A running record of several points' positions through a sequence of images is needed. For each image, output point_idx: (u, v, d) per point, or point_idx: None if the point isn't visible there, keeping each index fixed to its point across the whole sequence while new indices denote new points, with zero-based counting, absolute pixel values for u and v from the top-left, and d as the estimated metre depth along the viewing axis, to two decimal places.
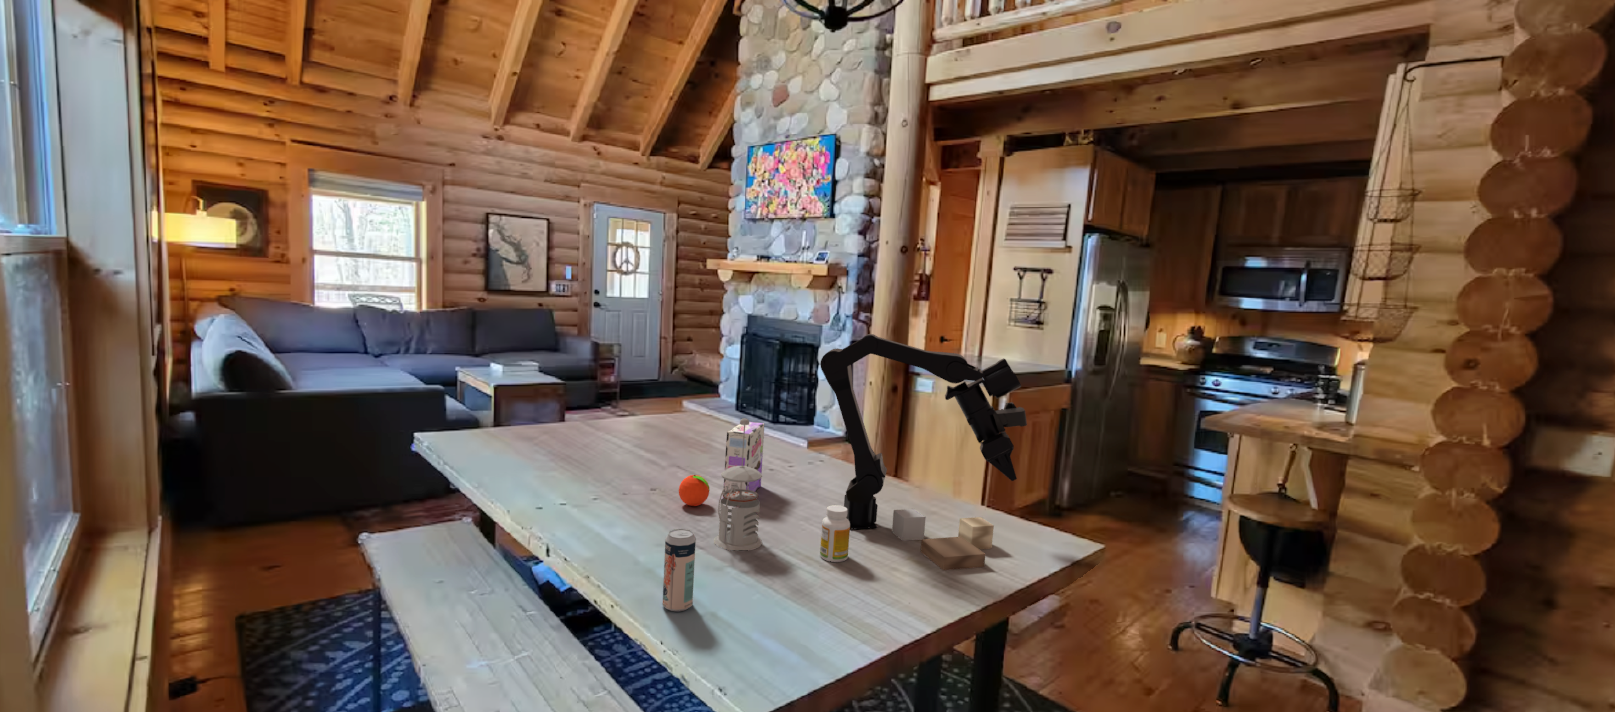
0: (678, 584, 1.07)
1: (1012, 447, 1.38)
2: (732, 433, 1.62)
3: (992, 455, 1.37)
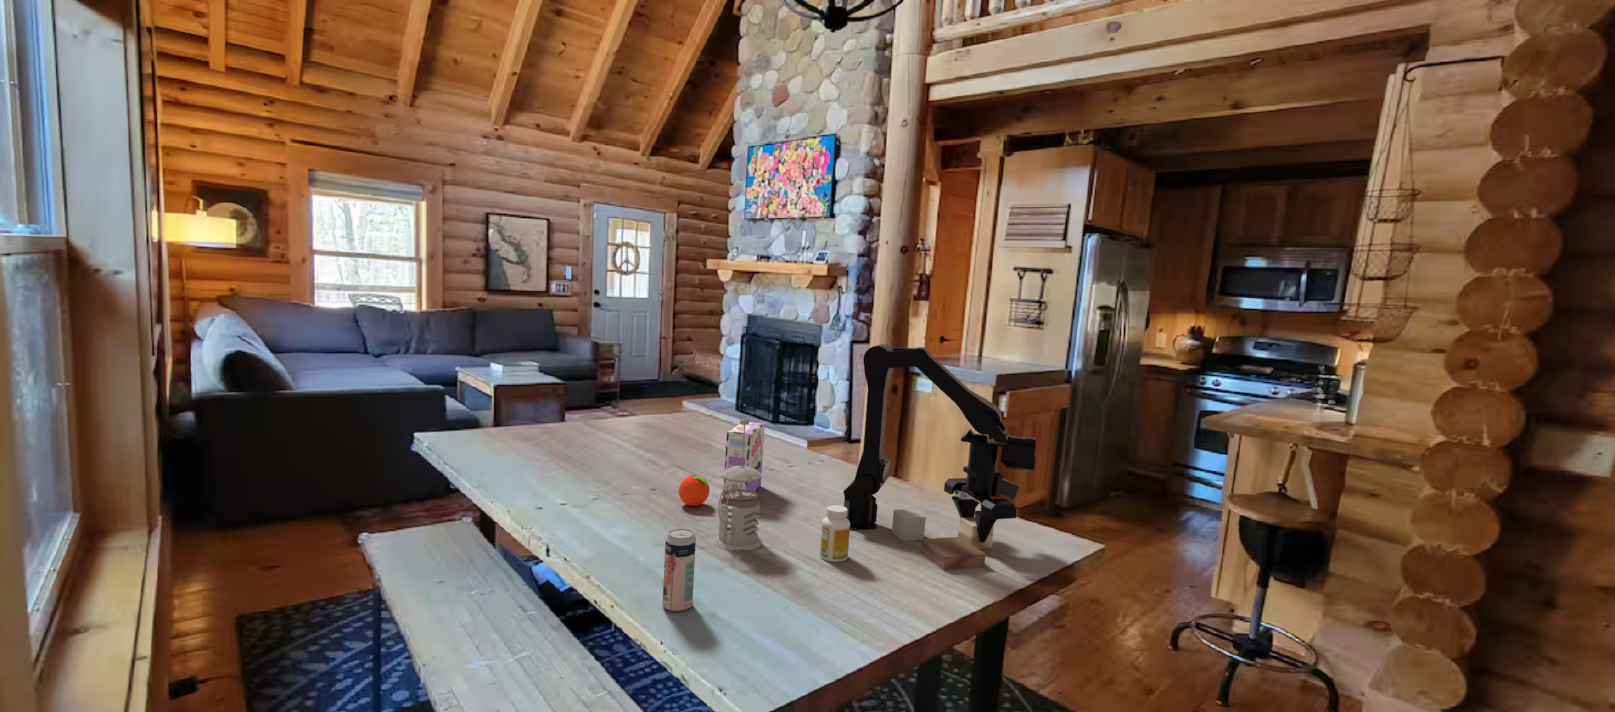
0: (678, 584, 1.07)
1: None
2: (732, 433, 1.62)
3: (998, 517, 1.35)
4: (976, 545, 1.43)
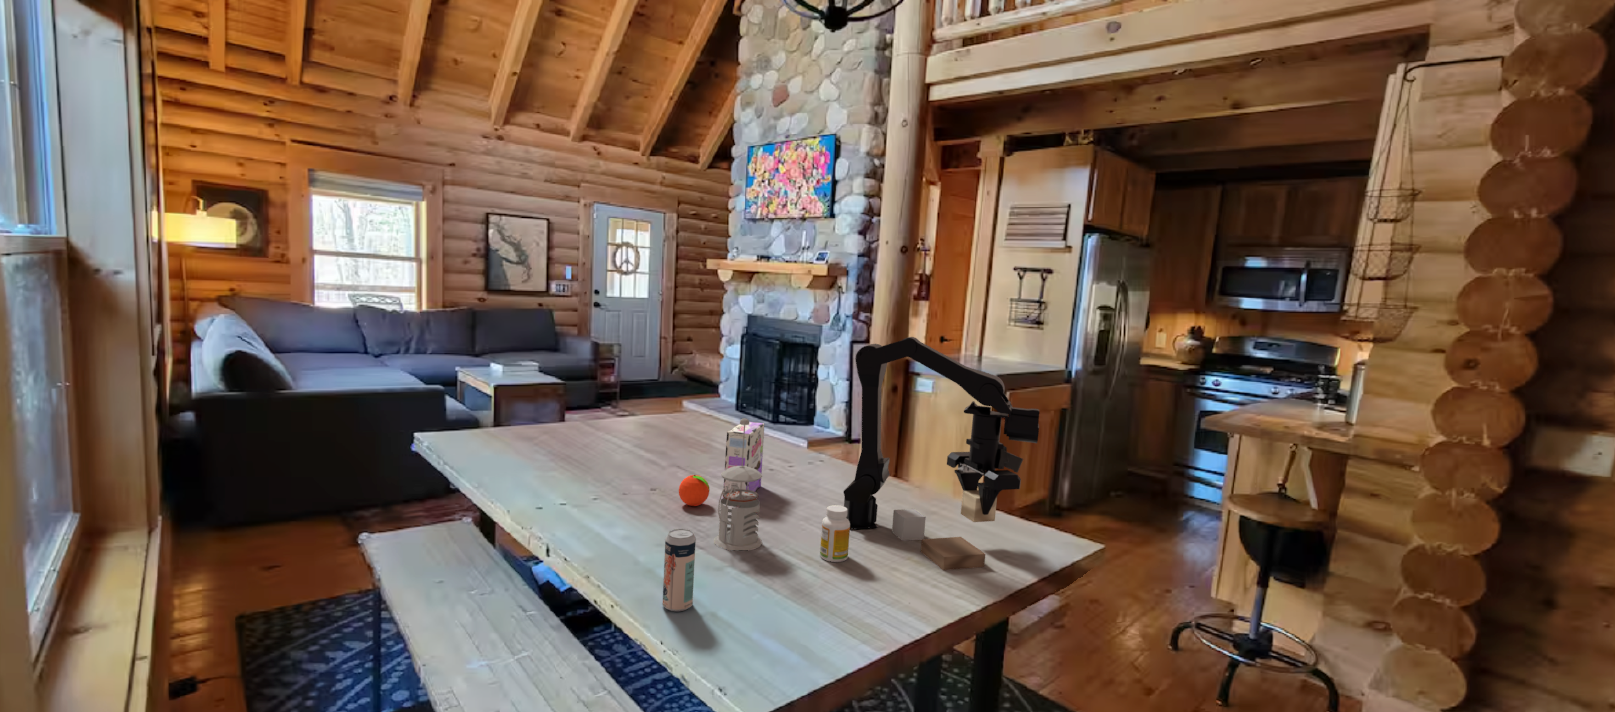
0: (678, 584, 1.07)
1: None
2: (732, 433, 1.62)
3: (1002, 488, 1.34)
4: (979, 517, 1.42)
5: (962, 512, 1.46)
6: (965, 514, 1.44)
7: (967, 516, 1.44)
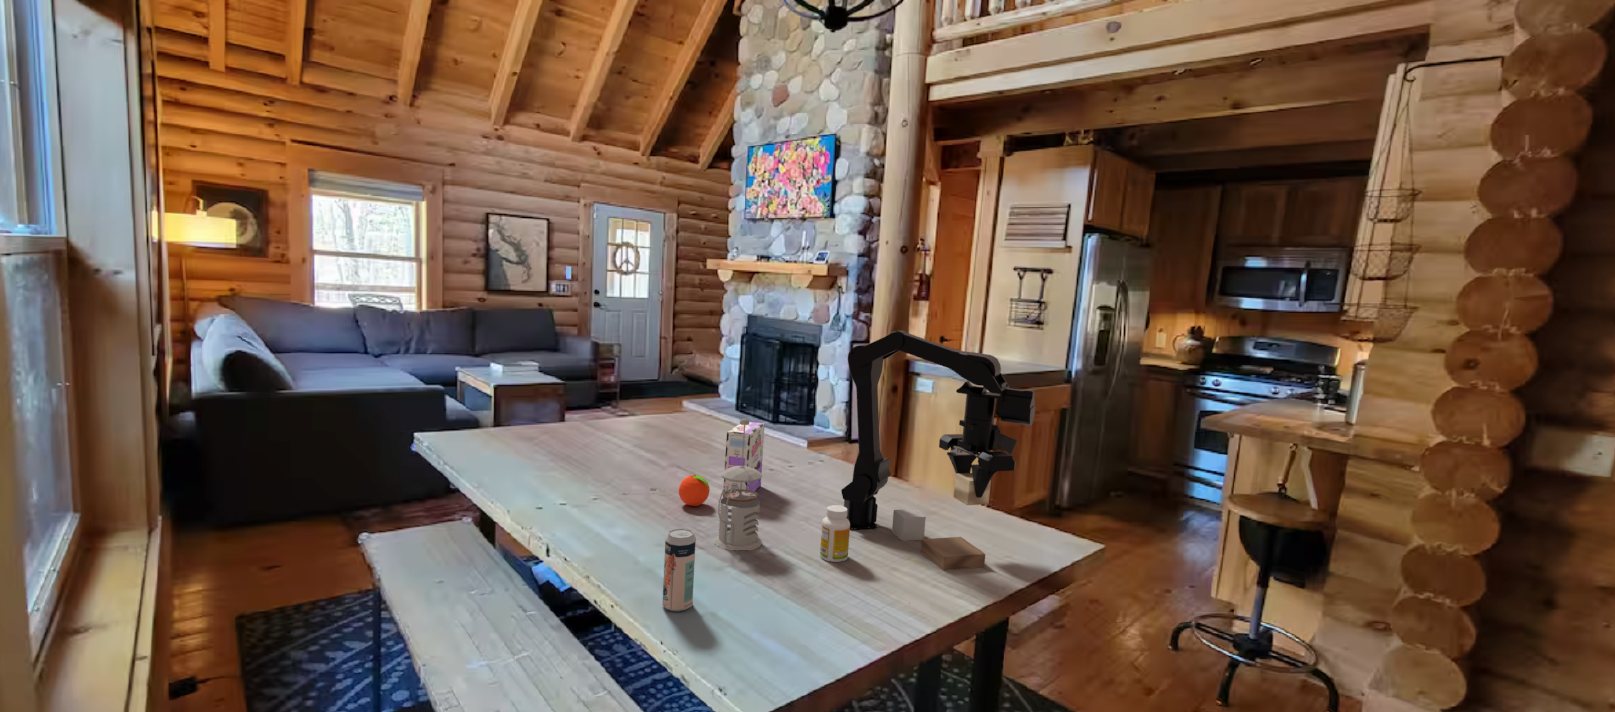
0: (678, 584, 1.07)
1: None
2: (732, 433, 1.62)
3: (996, 469, 1.31)
4: (973, 500, 1.38)
5: (955, 495, 1.42)
6: (958, 497, 1.41)
7: (960, 499, 1.40)
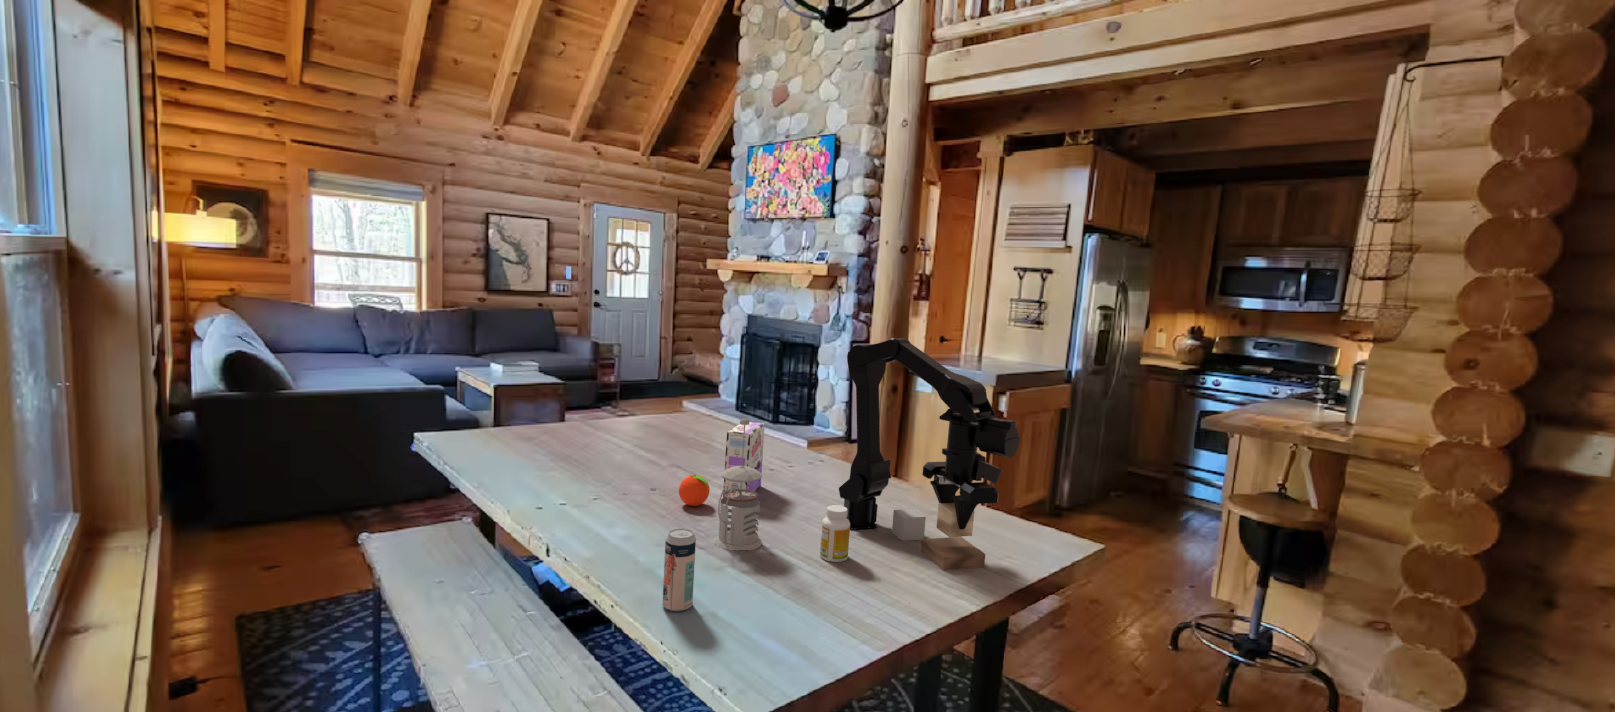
0: (678, 584, 1.07)
1: None
2: (732, 433, 1.62)
3: (978, 502, 1.26)
4: (955, 532, 1.33)
5: (938, 526, 1.37)
6: (941, 528, 1.36)
7: (943, 530, 1.35)
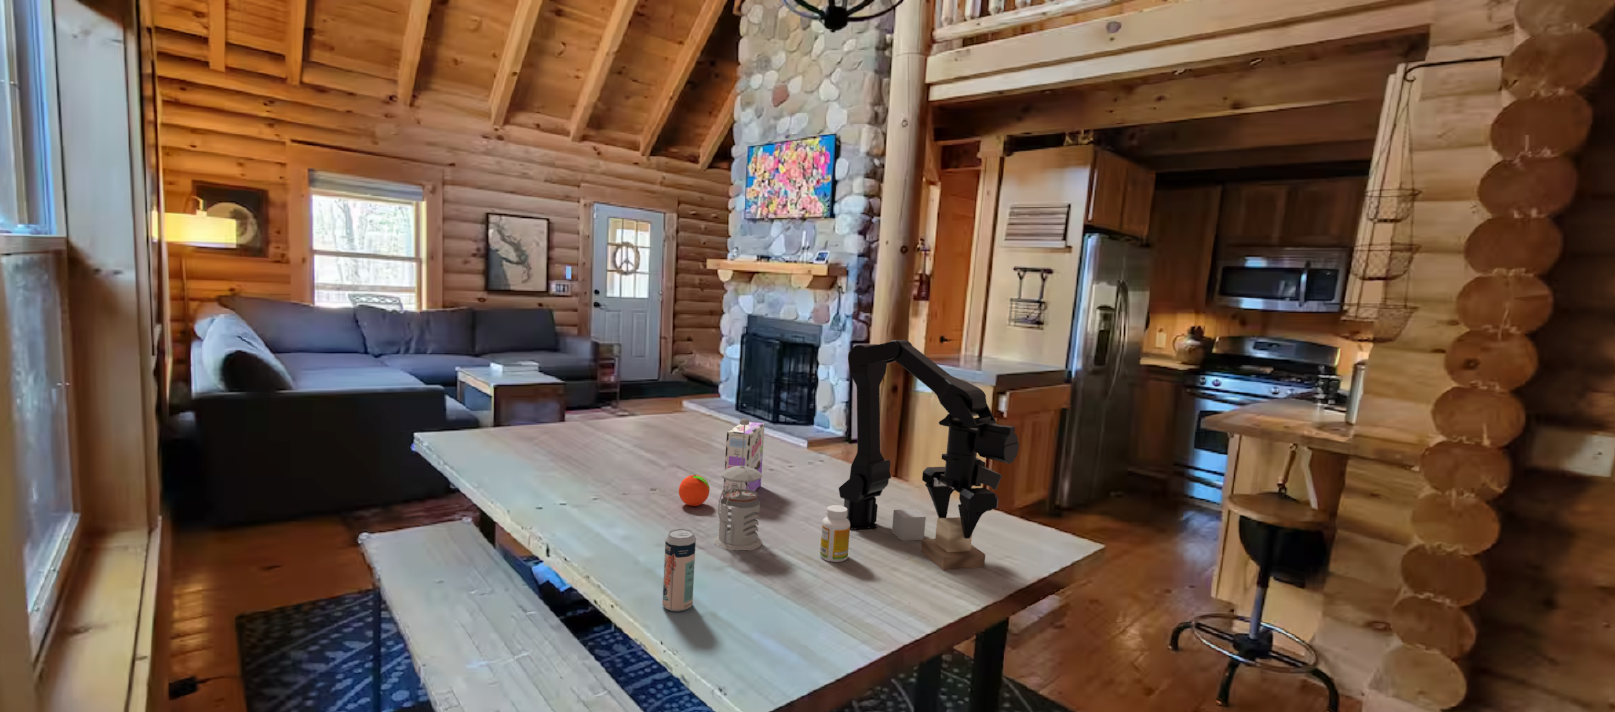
0: (678, 584, 1.07)
1: None
2: (732, 433, 1.62)
3: (978, 507, 1.26)
4: (954, 547, 1.34)
5: (936, 541, 1.37)
6: (940, 543, 1.36)
7: (941, 545, 1.36)
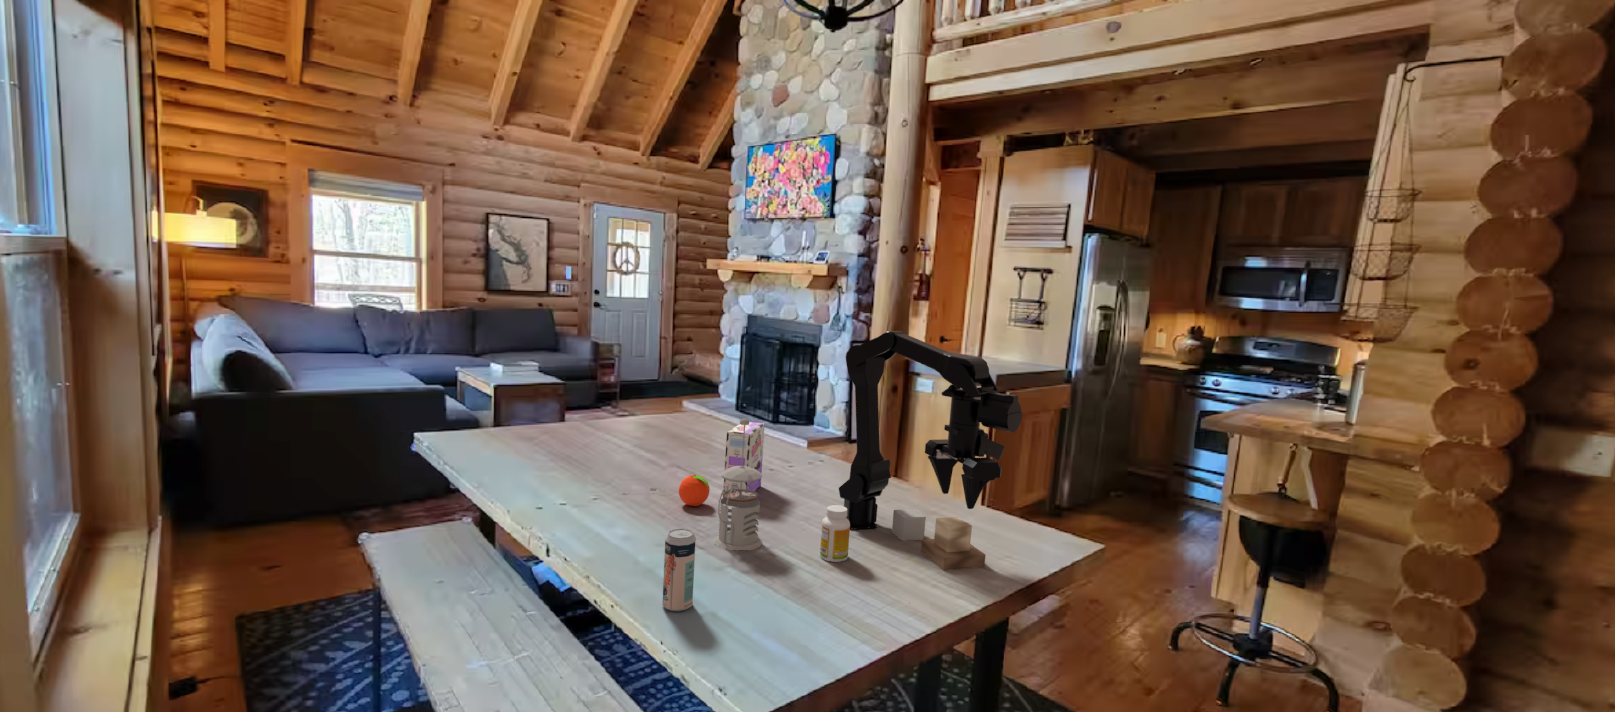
0: (678, 584, 1.07)
1: None
2: (732, 433, 1.62)
3: (981, 476, 1.25)
4: (953, 547, 1.34)
5: (935, 541, 1.38)
6: (939, 543, 1.36)
7: (940, 545, 1.36)
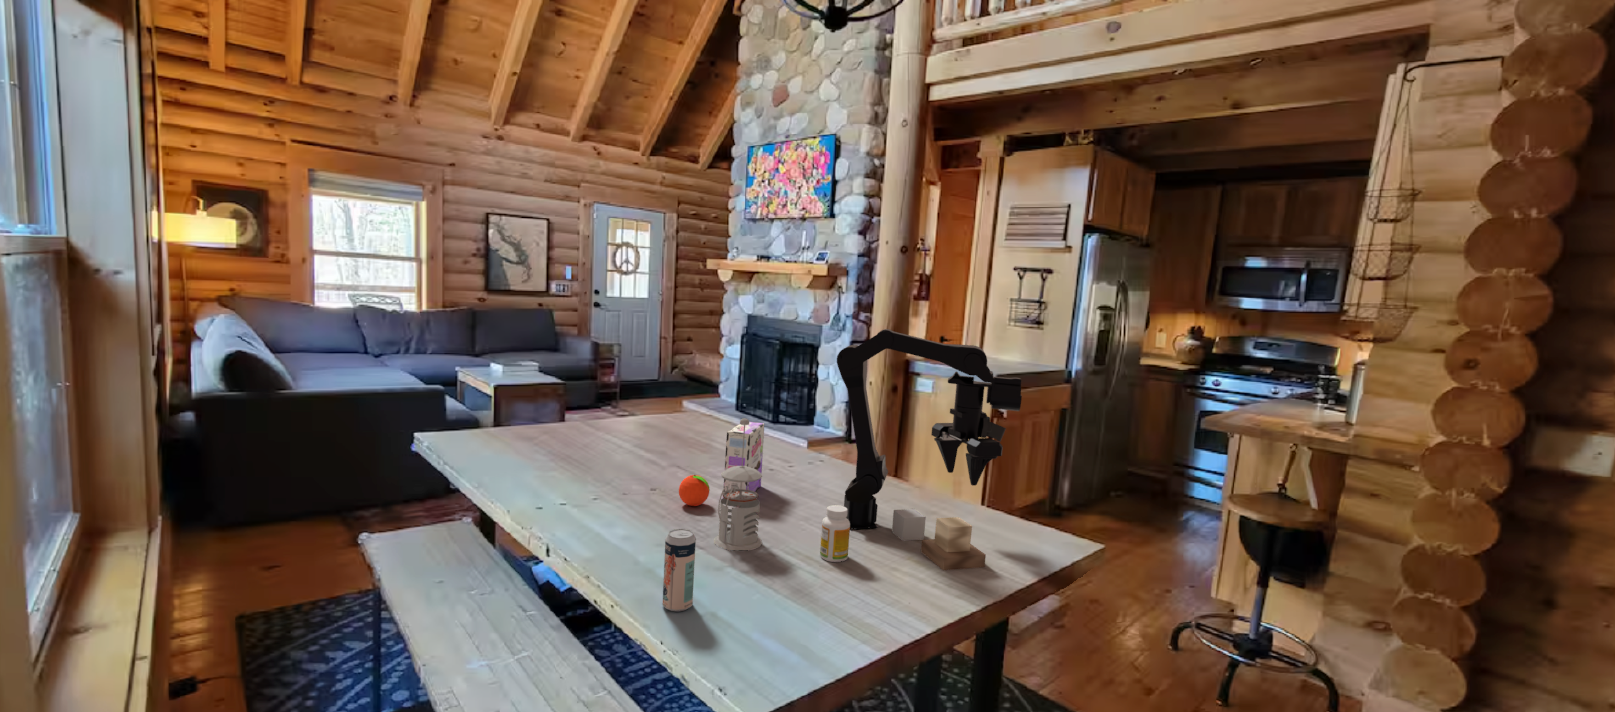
0: (678, 584, 1.07)
1: (996, 455, 1.40)
2: (732, 433, 1.62)
3: (984, 454, 1.37)
4: (953, 547, 1.34)
5: (936, 541, 1.37)
6: (939, 543, 1.36)
7: (940, 545, 1.36)
